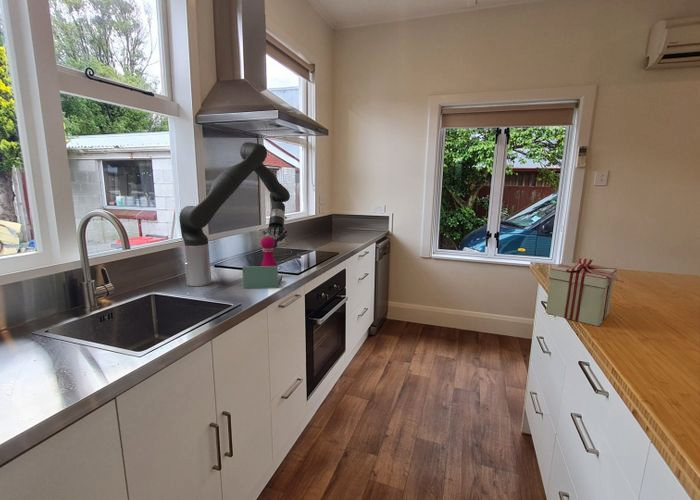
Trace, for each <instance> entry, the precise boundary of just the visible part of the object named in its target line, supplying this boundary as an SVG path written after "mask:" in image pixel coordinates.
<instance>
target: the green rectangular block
mask: <svg viewBox="0 0 700 500" xmlns="http://www.w3.org/2000/svg"><path fill="white" fill-rule="evenodd" d="M241 269H242V271H241V272H242V280H243V281H242V282H243V289H278V288H279V287H280V286H281V284H282V282H283V276H282V275H279V271H278V265H277V266H261V265H257V266H256V265H253V266H252V265H251V266H249V265H248V266H242V267H241Z"/></svg>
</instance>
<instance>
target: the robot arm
mask: <svg viewBox="0 0 700 500" xmlns="http://www.w3.org/2000/svg"><path fill="white" fill-rule="evenodd" d="M239 153H240V157H241V159H242V160H241V161H240V162H239V163H237V164H234V165H232V166H230V167H227V168H226V169H224V170H223V171H222V172H221V173H220V174H219V175H218V176H216V178H215V179H214V180H213V182H212V184H211V186H210V189H209V191H208V193H207V195H206V197H205V198H203V199H202V200H201V202H199V203H198V204H197V205H186V206H184V207H183V208H182V209H181V211H180V212H179V216H178V219H179V228H180V233H181V238H182V240H183V242H184V250H185V260H186V261H185V263H184V270H185V281H186V286H190V287H201V286H208V285H210V284H212V281H213V280H212V271H211V269H212V268H211V257H210V247H209V239H208V236H207V235H206V234H205V233H204V231H203V228H205V227H206V226H208V225H209V223H210V221H211V220H212V219H213V218H214V216H215V215H216V213H217V212H218V210H219V209H220V208H221V206H222V205H224V204H225V203H226V201H227V200H228V199H229V198H230V197H231V196H232V195H233V194H234V193H235V192H236V190H238V188H239V187H240V186H241V185H242V184H243V182H245V180H247V178H248V177H249V176H250V175H251V174H252V173H253V172H254V173H255V174H256V175H257V176H258V177H259V179H260V180H261V182H262V183H263V184H264V186H265V188H266V189H267V191H268V192H270V193H269V199H270V203H271V204H270V205H271V209H270V214H269V221H268V227H267V229H266V230H263V231H262V234H263V236H264V238H265V237H266V236H265V235H266V234H269V237H271V238H273V240H274V242H275V244H274V246H273V248H274V249H276V248H277V247H278V243H279V242H282V241H283V240H284V239H285V238H286V237H287V236H288V235H289V232H288V230H286V229H285V228H284V226H285V220H286V219H285V218H286V216H285V213H286V212H285V211H286V205H285V204H284V203H286V202H289V200H290V197H291V196H290V192H289V190H288V188H286V187H285V186H284V185H282V184H281V183H280V182H279V180H278V178H277V177H276V175H275V173H274V172H272V171H271V170H270V168H268V167H267V166H266V165H265V164H264V162H265V160H266V159H267V156H268V149H267V147H266V146H265V145H263V144H260V143H257V142H250V141H249V142H248V141H246V142H244V143H242V145H241V146H240V148H239Z"/></svg>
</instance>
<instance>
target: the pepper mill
mask: <svg viewBox="0 0 700 500" xmlns="http://www.w3.org/2000/svg"><path fill="white" fill-rule="evenodd" d="M265 236H266V237H265ZM265 236H264V237H263V238H261V241H260V245H261V247H262V252H263V259H262V262H261V265H260V266H277V267H278V265H277V262H276V259H275V258H274V251H275V250H274V249H275V248H273V246H274V244H275V242H274V240H273V238H271V236H270V234H269V233H268V234H266V235H265ZM269 236H270V237H269Z"/></svg>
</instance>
